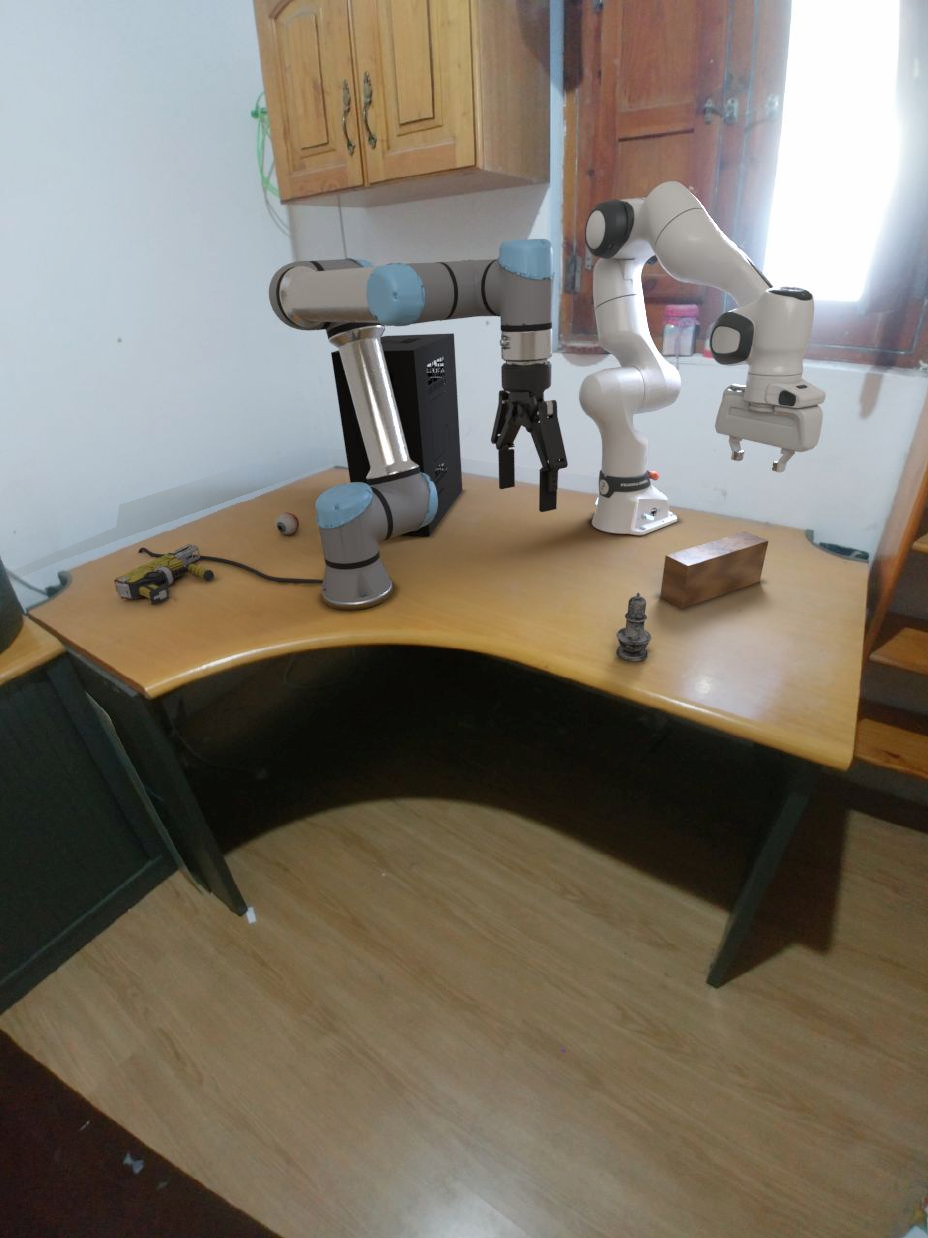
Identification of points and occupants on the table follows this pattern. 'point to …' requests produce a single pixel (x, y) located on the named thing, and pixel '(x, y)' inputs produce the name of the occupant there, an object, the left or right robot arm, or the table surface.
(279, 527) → the eyeball
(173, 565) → the toy gun
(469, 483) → the table surface
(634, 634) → the grey chess piece
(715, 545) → the box
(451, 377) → the black computer tower
